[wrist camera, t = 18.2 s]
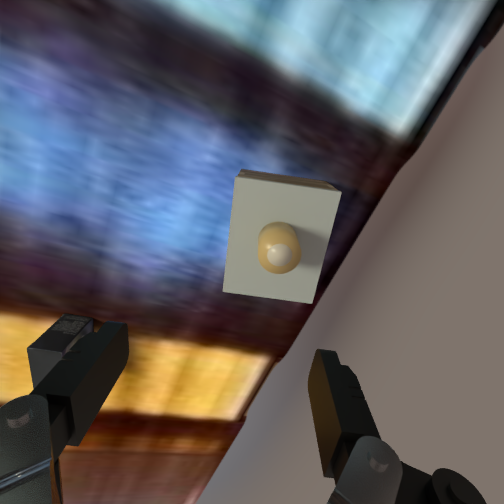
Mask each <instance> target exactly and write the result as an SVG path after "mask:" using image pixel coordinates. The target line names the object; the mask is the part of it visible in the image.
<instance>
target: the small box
mask: <svg viewBox="0 0 504 504" xmlns="http://www.w3.org/2000/svg"><path fill="white" fill-rule="evenodd" d="M90 332H94V326H93V318H90V317H84V316H78V315H71V314H63V315H62V316H61V317H60V318H59V319H58V320H57V321H56V322H55V323H54V324H53V325H52V326H51V327H50V328H49V329H48V330H47V331H46V332H44V333H43V334H42V335H41V336H40V337H39V338H38V339H37V340H36V341H35V342H33V343H32V344H31V345H30V346H29V347H28V348H27V352H28V358H29V364H30V370H31V376H32V382H33V388H35V387H36V386H37V385H38V384H39V383H40V382H41V381H42V379H43V378H44V377H45V376H46V375H47V374H48V373H49V372H50V371H51V369H52V368H53V367H54V366H55V365H56V364H57V363H58V362H59V360H61V358H62V357H63V356H64V355H65V354H66V353H67V352H69V349H70V348H71V347H72V346H73V345H74V344H75V343H76V341H77V340H78V339H80V338H82V337H83V336H85V335H86V334H88V333H90Z"/></svg>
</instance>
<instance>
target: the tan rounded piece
mask: <svg viewBox="0 0 504 504" xmlns="http://www.w3.org/2000/svg"><path fill="white" fill-rule="evenodd" d="M301 255H302V253H301V248H300V245H299V242H298V238H297V235H296V232H295V231H294V229H293V228H292V227H291V226H290V225H289V224H287V223H284V222H272V223H269V224H267V225H266V226H264V227H263V228H262V230H261V231H260V233H259V236H258V259H259V262H260V264H261V266H262V267H263V268H264V269H265V270H267V271H268V272H271V273H274V274H284V273H288V272H290V271H292V270H293V269H294V268H296V267H297V265H298V264H299V262H300V260H301Z"/></svg>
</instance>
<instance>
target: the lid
mask: <svg viewBox="0 0 504 504" xmlns="http://www.w3.org/2000/svg"><path fill="white" fill-rule="evenodd" d="M341 193H342V192H341V191H337V190H330V189H323V188H316V187H309V186H302V185H295V184H288V183H281V182H274V181H268V180H261V179H254V178H247V177H240V176H236V177H235V184H234V193H233V203H232V212H231V221H230V230H229V239H228V248H227V257H226V266H225V276H224V285H223V292H229V293H236V294H244V295H251V296H259V297H266V298H273V299H281V300H288V301H296V302H303V303H311V304H312V302H313V298H314V295H315V291H316V287H317V283H318V280H319V276H320V272H321V268H322V265H323V261H324V257H325V253H326V250H327V246H328V242H329V238H330V234H331V231H332V227H333V223H334V219H335V216H336V212H337V208H338V204H339V201H340V197H341ZM272 222H284V223H287V224H289V225H290V226H291V227H292V228H293V229H294V231H295V232H296V235H297V238H298V242H299V245H300V248H301V253H302V255H301V260H300V262H299V264H298V265H297V267H296V268H294V269H293V270H292V271H290V272H288V273H284V274H274V273H271V272H268V271H267V270H265V269H264V268H263V267H262V266H261V264H260V262H259V259H258V236H259V233H260V231H261V230H262V228H263V227H264V226H266V225H267V224H269V223H272Z"/></svg>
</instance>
